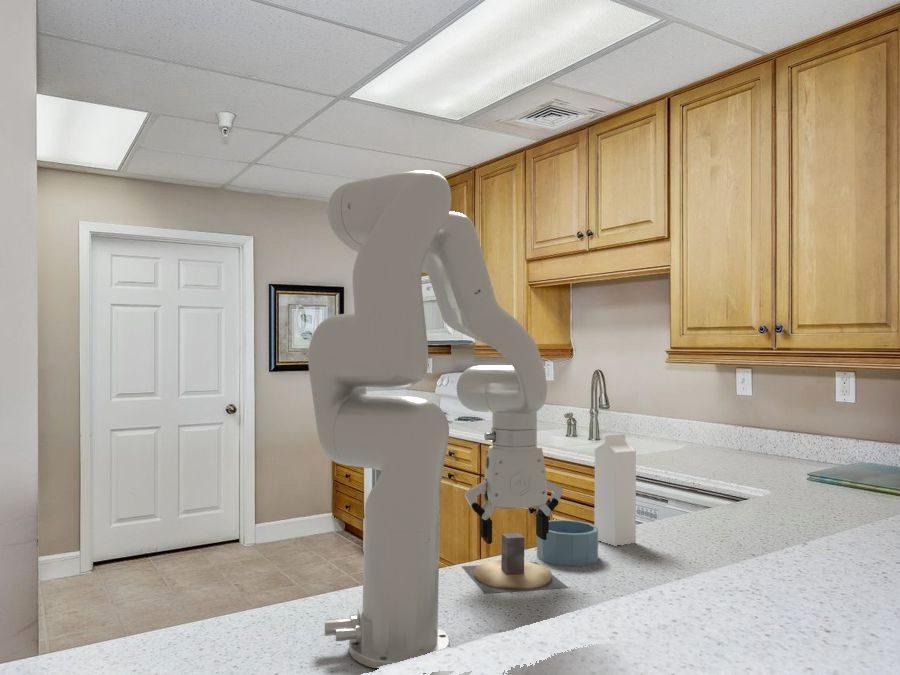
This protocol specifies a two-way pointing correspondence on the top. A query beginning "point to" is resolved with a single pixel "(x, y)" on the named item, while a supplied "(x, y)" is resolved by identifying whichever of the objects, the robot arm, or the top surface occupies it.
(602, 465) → the milk
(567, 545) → the bowl
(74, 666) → the top surface
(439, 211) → the robot arm
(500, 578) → the lid
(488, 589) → the mat
